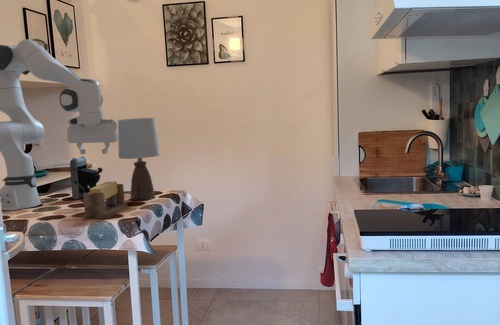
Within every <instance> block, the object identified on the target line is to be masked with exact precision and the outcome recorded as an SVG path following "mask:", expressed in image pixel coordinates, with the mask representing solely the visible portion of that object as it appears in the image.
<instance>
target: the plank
mask: <svg viewBox="0 0 500 325" xmlns="http://www.w3.org/2000/svg"><path fill="white" fill-rule="evenodd" d="M117 184H118V182H117V181H105V182H103V183H100V184H98V185H96V186H95V187H93V188H90V193H104V197H105V200H106V199H107V198H109V197H111V196H113V195H115V194H117V193H118V189H117Z"/></svg>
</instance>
